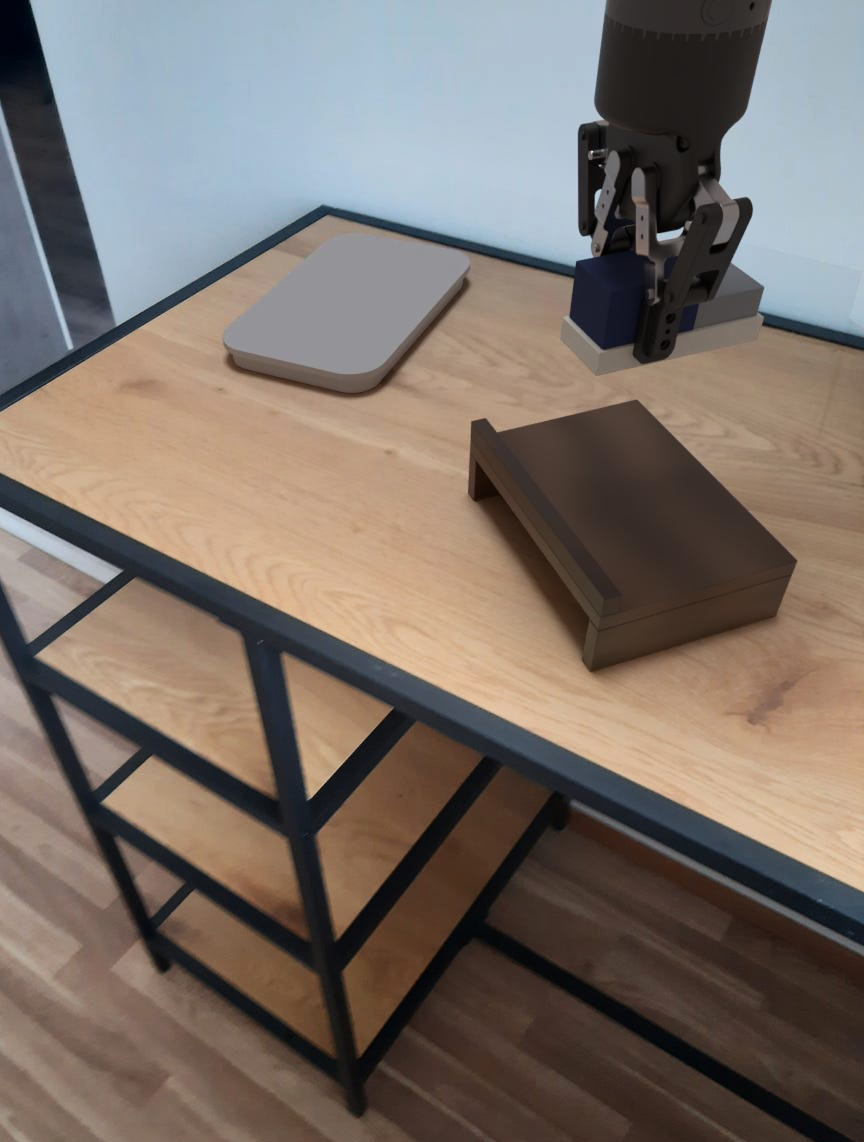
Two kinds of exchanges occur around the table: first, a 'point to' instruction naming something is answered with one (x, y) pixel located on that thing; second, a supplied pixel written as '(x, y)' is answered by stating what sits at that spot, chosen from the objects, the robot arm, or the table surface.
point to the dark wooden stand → (632, 528)
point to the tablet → (347, 311)
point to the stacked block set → (613, 308)
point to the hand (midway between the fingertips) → (628, 336)
